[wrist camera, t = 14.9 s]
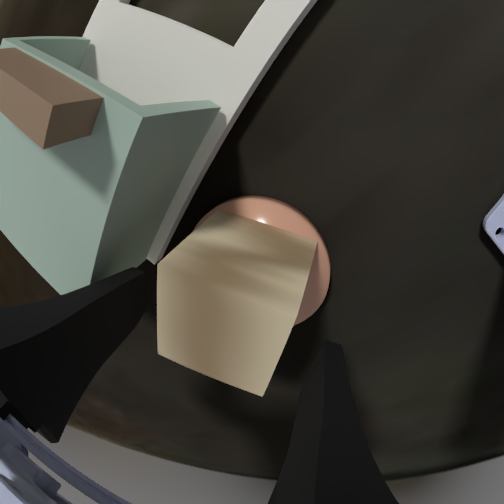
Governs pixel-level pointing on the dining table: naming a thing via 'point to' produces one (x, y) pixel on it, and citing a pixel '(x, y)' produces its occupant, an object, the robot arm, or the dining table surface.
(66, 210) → the pale green open box
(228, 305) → the block
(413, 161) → the dining table surface
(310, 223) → the coaster
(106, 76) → the board
